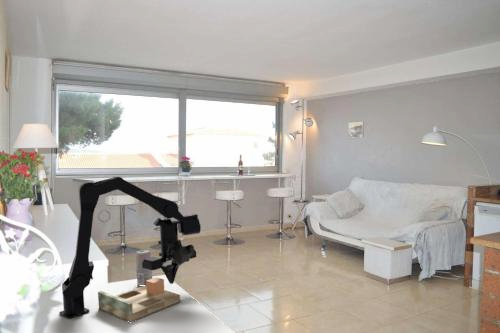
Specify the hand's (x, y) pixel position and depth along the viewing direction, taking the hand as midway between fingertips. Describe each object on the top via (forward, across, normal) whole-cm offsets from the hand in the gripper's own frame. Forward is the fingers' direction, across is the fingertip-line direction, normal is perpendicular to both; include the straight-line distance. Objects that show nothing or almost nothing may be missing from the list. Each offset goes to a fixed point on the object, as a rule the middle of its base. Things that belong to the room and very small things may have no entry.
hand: (171, 283), depth 133 cm
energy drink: (+4, 0, +16) cm, 16 cm away
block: (+1, -7, 0) cm, 7 cm away
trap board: (+3, -13, 0) cm, 13 cm away
